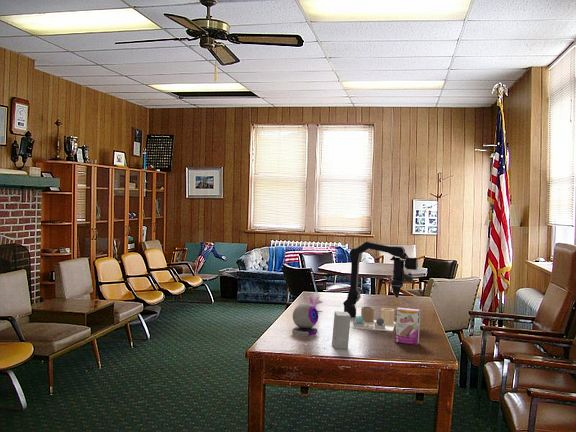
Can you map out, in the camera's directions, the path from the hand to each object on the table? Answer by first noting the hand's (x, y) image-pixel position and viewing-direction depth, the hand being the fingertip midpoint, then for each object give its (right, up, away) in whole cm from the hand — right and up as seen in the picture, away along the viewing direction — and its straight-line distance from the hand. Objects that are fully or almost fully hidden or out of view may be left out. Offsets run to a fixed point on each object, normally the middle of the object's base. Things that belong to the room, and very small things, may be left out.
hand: (397, 296), depth 333 cm
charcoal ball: (-13, -11, -21) cm, 27 cm away
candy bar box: (-4, -16, -49) cm, 51 cm away
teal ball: (-24, -10, -18) cm, 32 cm away
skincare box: (-37, -16, -59) cm, 72 cm away
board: (-14, -14, -12) cm, 24 cm away
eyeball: (-53, -14, -34) cm, 64 cm away
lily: (-47, -12, +24) cm, 54 cm away
